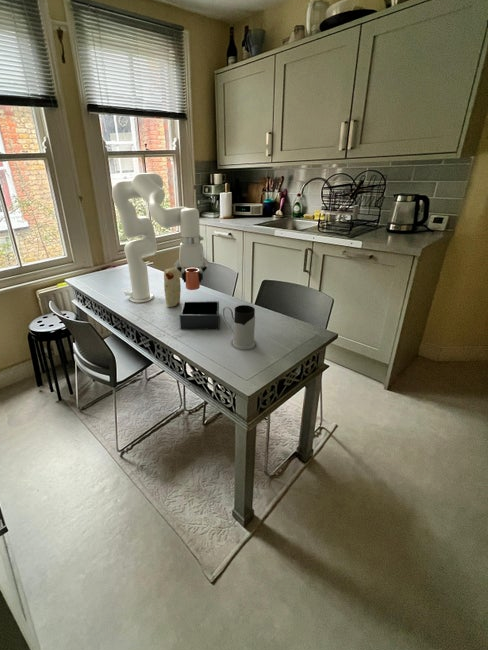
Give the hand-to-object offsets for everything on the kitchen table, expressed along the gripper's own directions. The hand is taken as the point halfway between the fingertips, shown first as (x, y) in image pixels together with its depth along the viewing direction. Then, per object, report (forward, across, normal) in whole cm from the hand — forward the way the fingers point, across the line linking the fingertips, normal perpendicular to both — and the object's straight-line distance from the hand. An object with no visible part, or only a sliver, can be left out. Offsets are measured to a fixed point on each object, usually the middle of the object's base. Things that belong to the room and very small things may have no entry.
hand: (192, 281), depth 136 cm
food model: (+20, +12, -18) cm, 29 cm away
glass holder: (+20, -19, +17) cm, 32 cm away
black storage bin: (+20, -3, 0) cm, 20 cm away
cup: (+3, 0, 0) cm, 3 cm away
